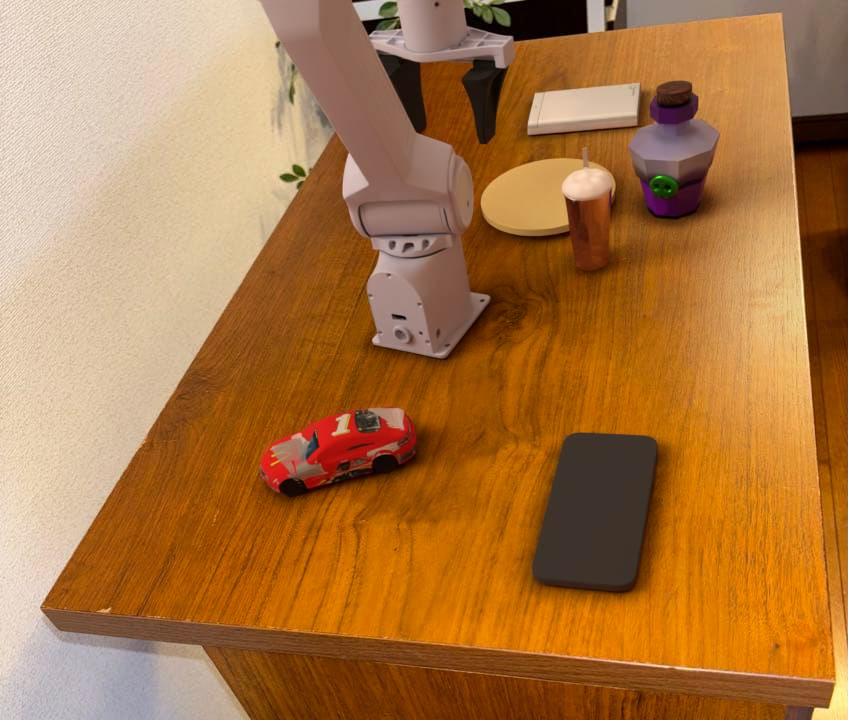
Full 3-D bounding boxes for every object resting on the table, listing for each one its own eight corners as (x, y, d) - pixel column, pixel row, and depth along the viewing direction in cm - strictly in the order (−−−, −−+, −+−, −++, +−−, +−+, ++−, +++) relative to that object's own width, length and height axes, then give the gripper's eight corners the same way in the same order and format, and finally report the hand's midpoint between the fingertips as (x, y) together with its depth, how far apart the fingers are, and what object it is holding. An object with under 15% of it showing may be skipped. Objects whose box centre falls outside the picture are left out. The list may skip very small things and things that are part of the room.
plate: (583, 249, 96) (582, 236, 95) (459, 232, 103) (457, 220, 102) (636, 176, 104) (636, 164, 103) (517, 164, 110) (516, 152, 109)
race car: (266, 505, 80) (251, 470, 77) (264, 461, 84) (249, 426, 81) (423, 467, 80) (413, 430, 77) (414, 424, 83) (404, 388, 80)
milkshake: (614, 241, 96) (610, 144, 89) (616, 273, 93) (612, 174, 85) (568, 246, 97) (560, 150, 90) (568, 277, 94) (559, 180, 86)
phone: (527, 577, 69) (565, 431, 78) (528, 584, 70) (565, 438, 79) (634, 587, 67) (660, 435, 76) (634, 595, 67) (660, 443, 76)
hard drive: (641, 80, 114) (535, 90, 118) (637, 114, 109) (526, 123, 112) (641, 94, 116) (536, 103, 119) (637, 128, 111) (528, 137, 114)
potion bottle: (633, 233, 97) (630, 114, 88) (626, 188, 102) (622, 72, 94) (723, 221, 95) (729, 99, 86) (711, 176, 101) (716, 58, 92)
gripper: (522, -34, 84) (538, 120, 94) (380, -34, 90) (409, 110, 100) (485, 3, 80) (505, 158, 90) (339, -1, 86) (374, 145, 96)
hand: (452, 135), depth 95 cm, fingers open, 7 cm apart
